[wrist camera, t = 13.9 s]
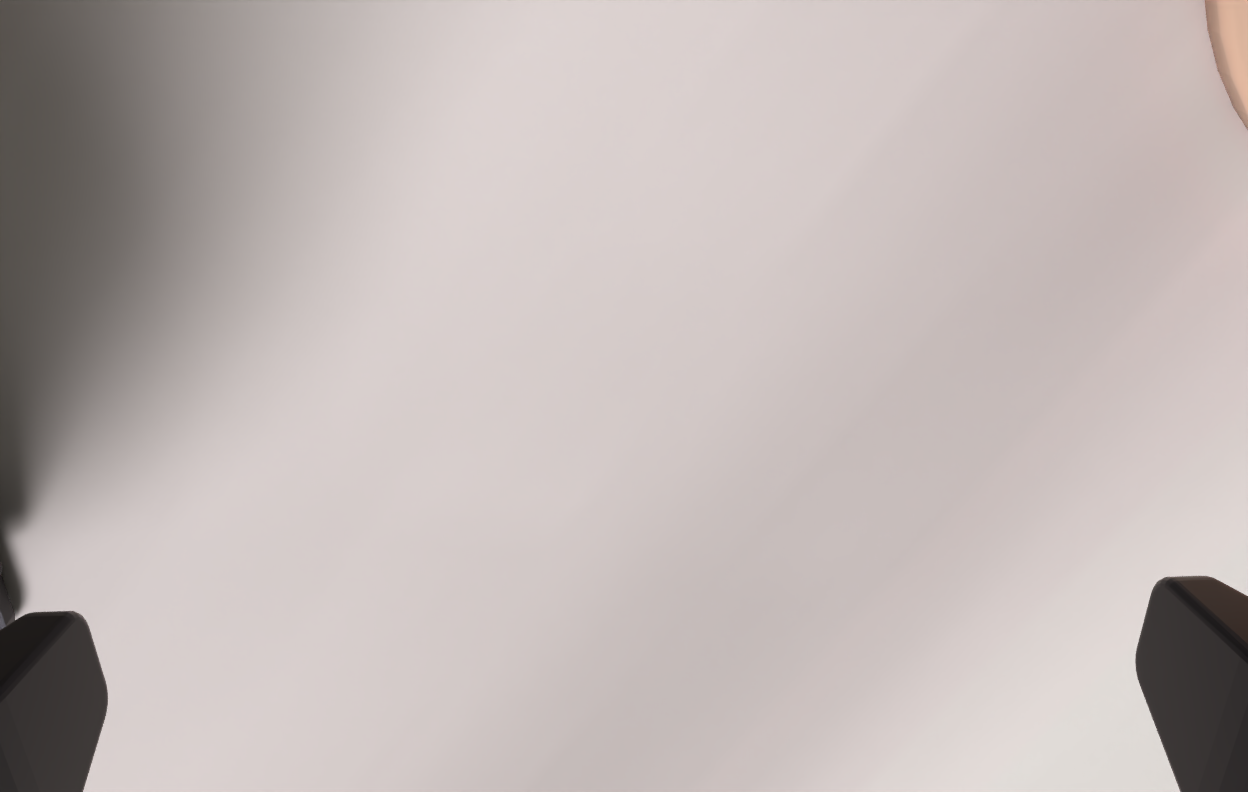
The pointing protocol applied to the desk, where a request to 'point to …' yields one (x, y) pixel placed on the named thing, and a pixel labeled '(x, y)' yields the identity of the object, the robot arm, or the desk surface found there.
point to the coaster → (1231, 48)
